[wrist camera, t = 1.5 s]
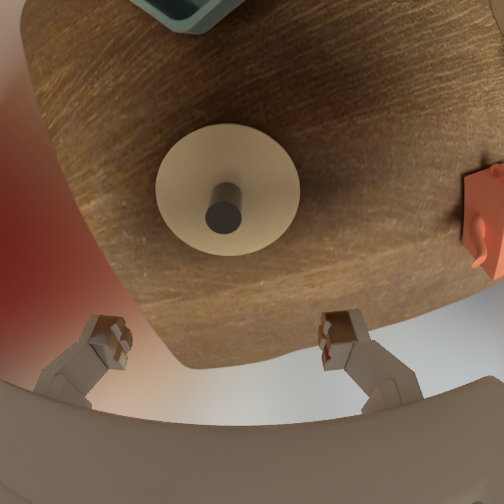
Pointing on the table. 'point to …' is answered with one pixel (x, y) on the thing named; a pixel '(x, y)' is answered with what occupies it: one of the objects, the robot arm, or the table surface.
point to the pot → (498, 13)
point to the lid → (227, 189)
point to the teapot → (485, 219)
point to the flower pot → (188, 13)
